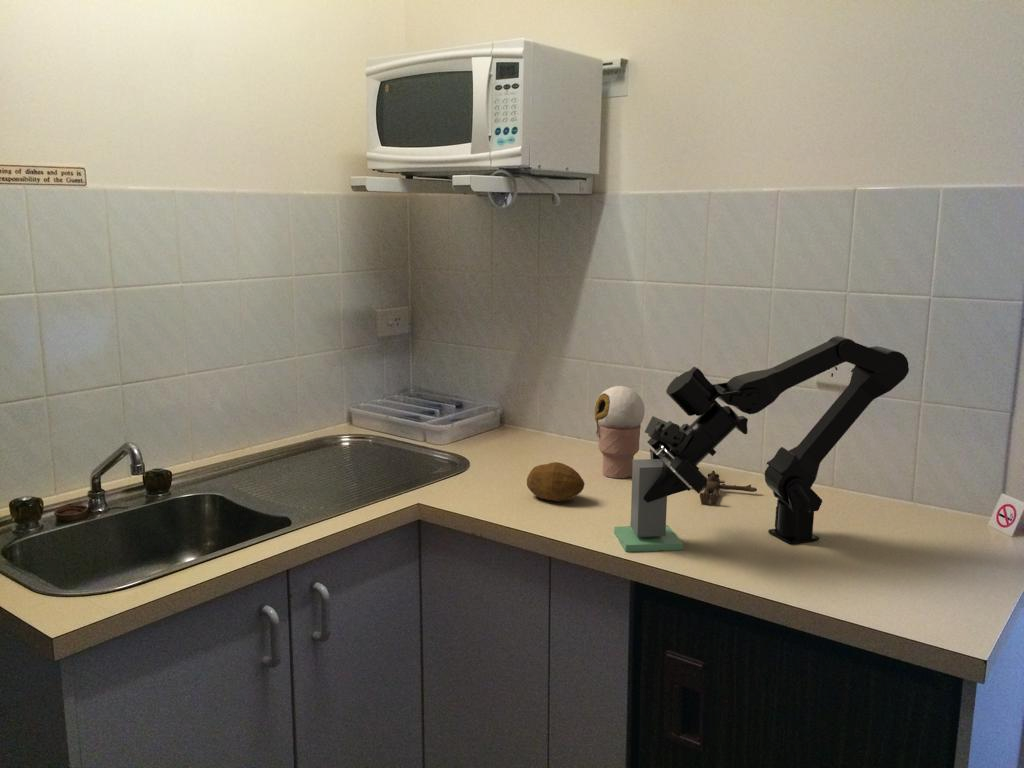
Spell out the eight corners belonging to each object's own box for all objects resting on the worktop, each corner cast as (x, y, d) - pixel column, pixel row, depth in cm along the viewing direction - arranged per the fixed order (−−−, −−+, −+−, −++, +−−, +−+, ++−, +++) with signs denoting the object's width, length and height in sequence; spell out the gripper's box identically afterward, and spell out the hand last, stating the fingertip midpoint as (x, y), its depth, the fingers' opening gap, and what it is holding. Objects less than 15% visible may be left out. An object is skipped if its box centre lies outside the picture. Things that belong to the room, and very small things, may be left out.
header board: (667, 531, 159) (668, 517, 158) (682, 549, 150) (682, 535, 150) (614, 532, 158) (614, 519, 157) (625, 551, 149) (625, 537, 149)
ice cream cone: (583, 473, 194) (585, 385, 191) (616, 464, 201) (619, 380, 197) (618, 484, 186) (621, 393, 182) (652, 475, 193) (655, 387, 189)
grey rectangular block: (657, 525, 156) (660, 458, 154) (665, 535, 152) (668, 466, 149) (630, 526, 156) (632, 459, 154) (637, 536, 151) (639, 467, 149)
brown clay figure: (663, 488, 175) (672, 462, 189) (663, 508, 177) (671, 480, 190) (756, 497, 170) (758, 470, 184) (754, 517, 171) (757, 489, 185)
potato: (532, 490, 183) (533, 454, 181) (589, 496, 178) (590, 460, 177) (519, 501, 175) (520, 464, 174) (579, 509, 171) (579, 471, 169)
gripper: (660, 391, 159) (599, 451, 160) (691, 414, 141) (622, 481, 142) (700, 432, 161) (640, 490, 162) (735, 460, 143) (667, 525, 144)
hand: (641, 495), depth 152 cm, fingers closed on grey rectangular block, 5 cm apart
